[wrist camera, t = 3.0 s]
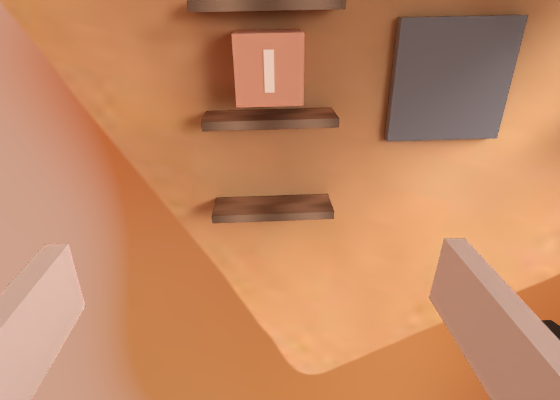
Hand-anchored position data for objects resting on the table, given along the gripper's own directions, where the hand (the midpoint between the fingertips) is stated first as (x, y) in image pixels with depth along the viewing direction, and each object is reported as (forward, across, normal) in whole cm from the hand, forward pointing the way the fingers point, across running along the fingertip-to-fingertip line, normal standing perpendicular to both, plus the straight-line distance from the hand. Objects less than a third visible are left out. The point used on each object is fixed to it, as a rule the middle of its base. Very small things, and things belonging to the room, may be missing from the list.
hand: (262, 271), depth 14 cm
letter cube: (+25, +1, +4) cm, 26 cm away
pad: (+25, +18, +3) cm, 31 cm away
